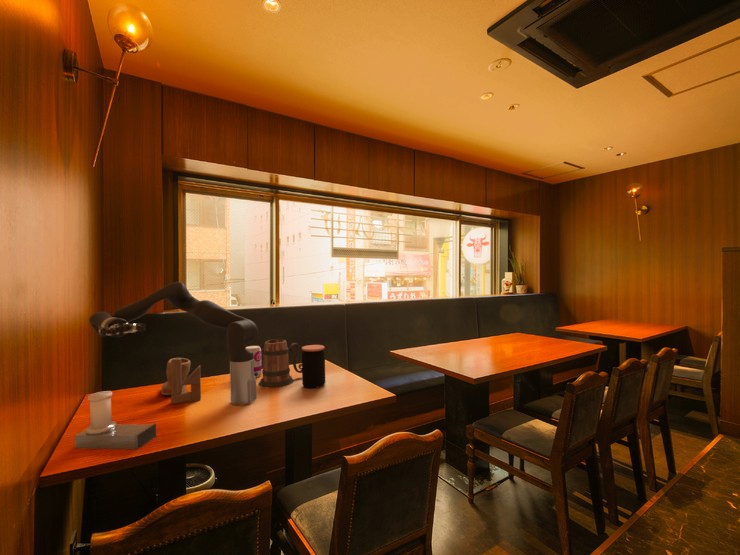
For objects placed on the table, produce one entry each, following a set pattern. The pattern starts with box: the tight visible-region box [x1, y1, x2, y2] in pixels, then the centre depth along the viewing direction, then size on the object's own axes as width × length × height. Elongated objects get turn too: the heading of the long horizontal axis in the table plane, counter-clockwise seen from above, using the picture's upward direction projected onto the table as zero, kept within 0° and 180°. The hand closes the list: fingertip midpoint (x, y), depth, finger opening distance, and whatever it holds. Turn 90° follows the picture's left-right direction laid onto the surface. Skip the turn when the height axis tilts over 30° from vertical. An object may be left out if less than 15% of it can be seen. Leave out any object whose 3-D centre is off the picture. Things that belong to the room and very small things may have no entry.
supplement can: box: [245, 345, 263, 378], centre depth 181 cm, size 8×8×15 cm
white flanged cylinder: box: [87, 390, 113, 429], centre depth 111 cm, size 6×6×10 cm
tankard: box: [258, 339, 302, 389], centre depth 172 cm, size 24×17×20 cm
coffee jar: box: [301, 344, 326, 390], centre depth 164 cm, size 11×11×18 cm
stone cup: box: [160, 357, 192, 396], centre depth 159 cm, size 15×12×15 cm
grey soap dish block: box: [74, 420, 157, 450], centre depth 111 cm, size 20×8×5 cm, turn 86°
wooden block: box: [170, 357, 202, 405], centre depth 146 cm, size 4×11×18 cm, turn 114°
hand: (129, 330), depth 132 cm, fingers open, 8 cm apart
